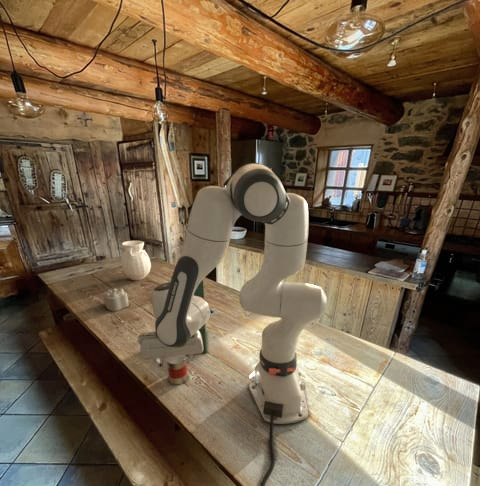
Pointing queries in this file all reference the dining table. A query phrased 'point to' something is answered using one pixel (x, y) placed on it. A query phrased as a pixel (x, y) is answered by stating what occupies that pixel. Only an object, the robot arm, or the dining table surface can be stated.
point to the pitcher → (135, 260)
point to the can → (177, 369)
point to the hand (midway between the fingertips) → (174, 364)
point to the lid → (200, 290)
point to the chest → (203, 337)
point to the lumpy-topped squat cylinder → (116, 299)
